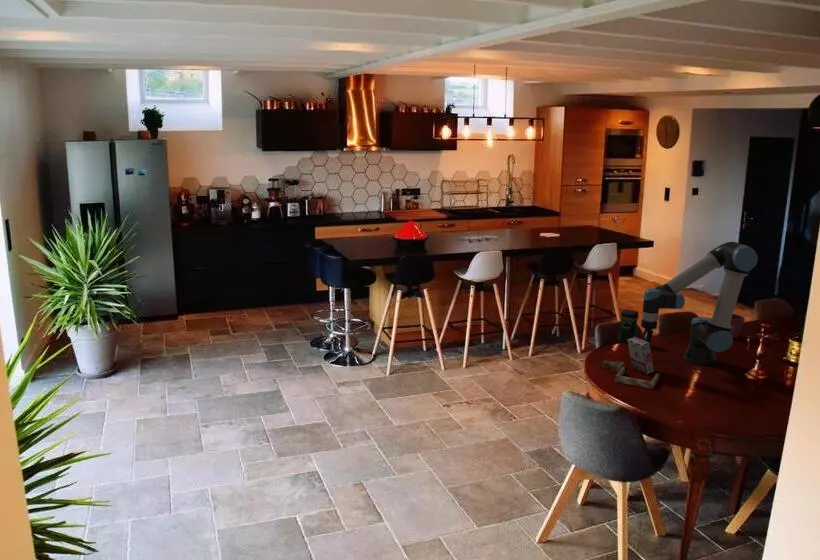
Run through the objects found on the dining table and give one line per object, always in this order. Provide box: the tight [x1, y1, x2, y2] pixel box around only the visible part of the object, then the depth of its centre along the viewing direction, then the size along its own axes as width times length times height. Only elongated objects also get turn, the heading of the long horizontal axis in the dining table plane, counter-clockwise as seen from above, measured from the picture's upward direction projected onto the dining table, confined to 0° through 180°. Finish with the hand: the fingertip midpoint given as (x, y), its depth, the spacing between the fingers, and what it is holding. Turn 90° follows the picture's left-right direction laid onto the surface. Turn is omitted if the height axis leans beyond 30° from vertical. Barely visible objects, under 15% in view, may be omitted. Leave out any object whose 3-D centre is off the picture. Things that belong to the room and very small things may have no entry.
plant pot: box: [730, 313, 745, 339], centre depth 403 cm, size 14×14×13 cm
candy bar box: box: [627, 336, 655, 375], centre depth 341 cm, size 11×5×16 cm, turn 23°
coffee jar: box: [618, 308, 640, 344], centre depth 389 cm, size 10×8×19 cm
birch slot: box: [614, 366, 660, 390], centre depth 330 cm, size 17×15×3 cm
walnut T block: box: [602, 360, 625, 373], centre depth 347 cm, size 9×10×2 cm
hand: (644, 364), depth 347 cm, fingers closed
